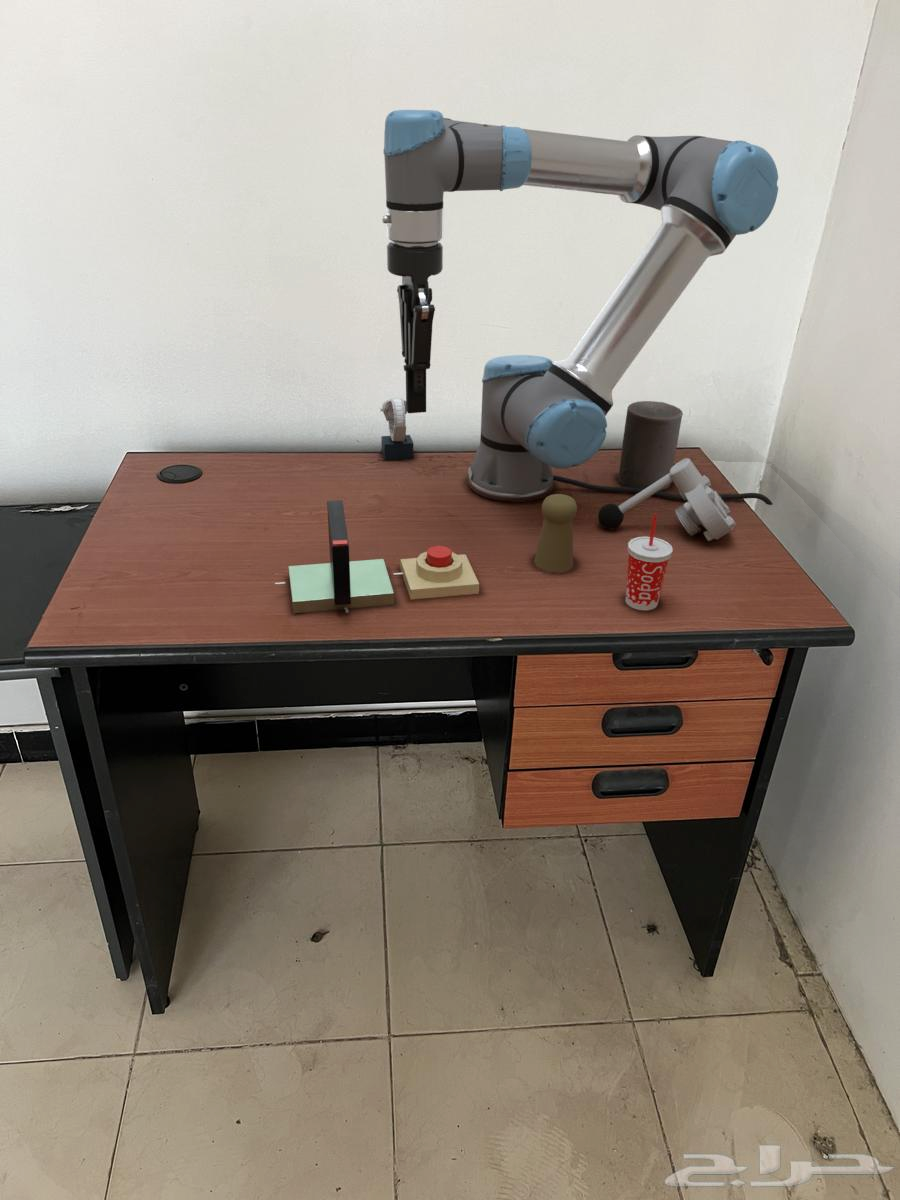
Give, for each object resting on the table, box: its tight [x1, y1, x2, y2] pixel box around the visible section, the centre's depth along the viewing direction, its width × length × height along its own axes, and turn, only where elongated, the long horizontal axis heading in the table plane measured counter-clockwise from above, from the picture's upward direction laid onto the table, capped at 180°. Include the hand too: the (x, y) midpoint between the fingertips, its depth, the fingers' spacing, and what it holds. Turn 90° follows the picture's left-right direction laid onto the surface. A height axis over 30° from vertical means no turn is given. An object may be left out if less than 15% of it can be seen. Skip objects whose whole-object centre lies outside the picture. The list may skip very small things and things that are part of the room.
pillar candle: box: [617, 400, 684, 492], centre depth 161 cm, size 10×10×15 cm
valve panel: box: [274, 558, 403, 615], centre depth 128 cm, size 18×18×2 cm
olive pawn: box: [533, 493, 578, 574], centre depth 134 cm, size 6×6×11 cm
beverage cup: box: [624, 512, 674, 611], centre depth 124 cm, size 6×6×14 cm
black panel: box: [326, 499, 351, 605], centre depth 125 cm, size 14×2×9 cm, turn 9°
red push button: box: [426, 545, 453, 568], centre depth 129 cm, size 4×4×2 cm
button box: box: [399, 551, 480, 600], centre depth 131 cm, size 10×9×4 cm
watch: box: [379, 396, 414, 461], centre depth 169 cm, size 6×8×11 cm
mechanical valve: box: [597, 457, 736, 542], centre depth 146 cm, size 10×18×15 cm
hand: (416, 410), depth 132 cm, fingers closed
